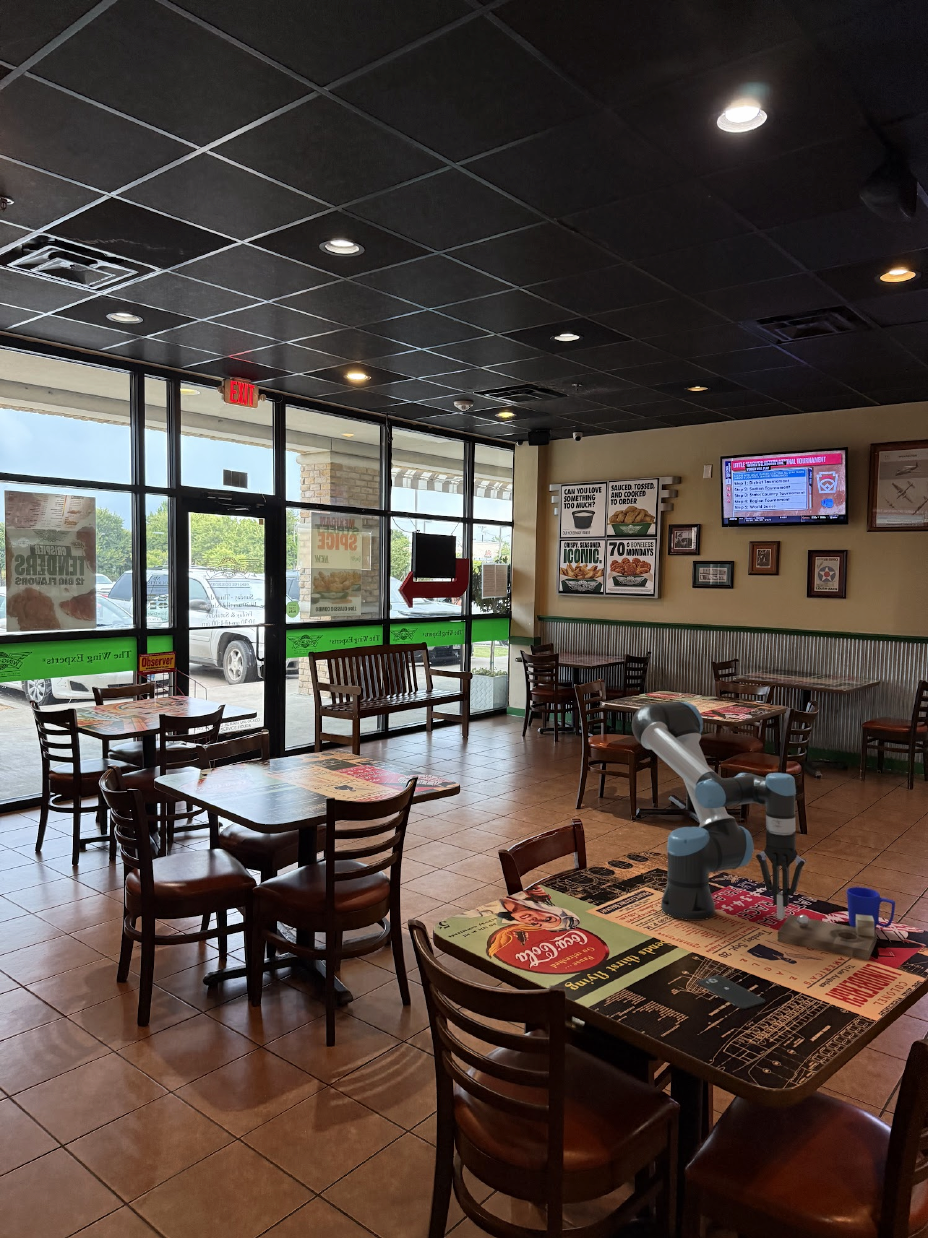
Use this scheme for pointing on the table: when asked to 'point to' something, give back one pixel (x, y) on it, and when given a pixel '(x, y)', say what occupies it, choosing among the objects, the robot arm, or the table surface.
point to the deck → (827, 937)
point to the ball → (803, 921)
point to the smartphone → (731, 992)
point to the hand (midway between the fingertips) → (781, 917)
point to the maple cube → (864, 925)
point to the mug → (866, 905)
